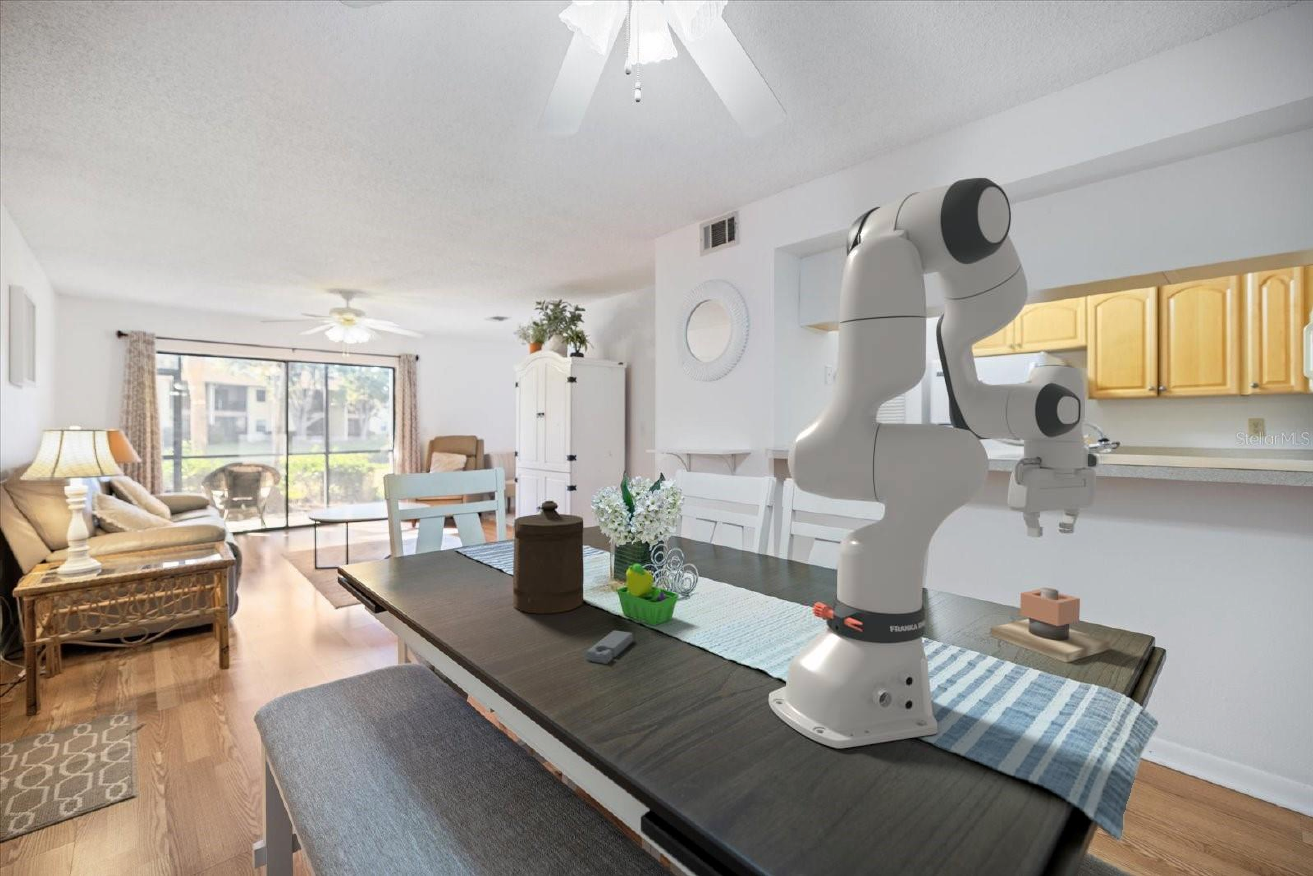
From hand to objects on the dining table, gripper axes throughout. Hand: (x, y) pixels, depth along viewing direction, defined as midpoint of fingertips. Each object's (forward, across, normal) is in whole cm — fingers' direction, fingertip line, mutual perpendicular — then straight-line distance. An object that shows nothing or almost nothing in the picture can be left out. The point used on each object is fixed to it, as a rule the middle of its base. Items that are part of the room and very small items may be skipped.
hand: (1050, 534), depth 102 cm
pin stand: (+20, 0, 0) cm, 20 cm away
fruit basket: (+20, -60, +42) cm, 76 cm away
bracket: (+21, -72, +30) cm, 81 cm away
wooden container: (+20, -75, +59) cm, 98 cm away
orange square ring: (+15, 0, 0) cm, 15 cm away
